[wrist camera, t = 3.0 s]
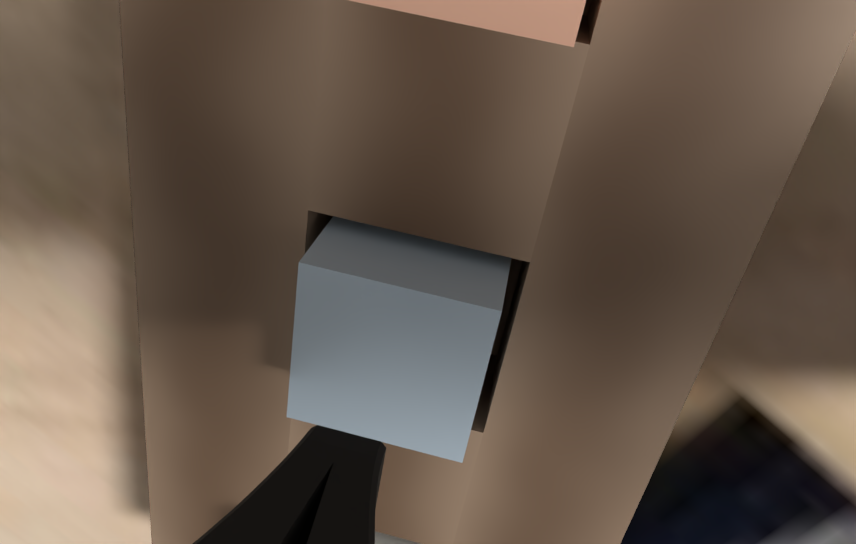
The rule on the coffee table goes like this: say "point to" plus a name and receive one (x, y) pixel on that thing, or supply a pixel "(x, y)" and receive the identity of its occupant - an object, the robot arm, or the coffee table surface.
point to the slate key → (394, 336)
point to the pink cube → (502, 15)
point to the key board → (457, 230)
